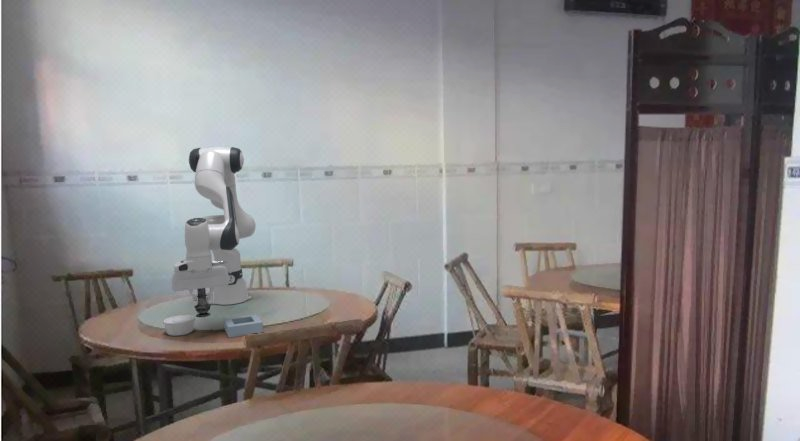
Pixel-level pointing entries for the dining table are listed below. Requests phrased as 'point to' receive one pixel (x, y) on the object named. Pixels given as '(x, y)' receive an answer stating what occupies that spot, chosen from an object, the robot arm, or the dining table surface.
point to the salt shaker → (202, 304)
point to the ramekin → (179, 325)
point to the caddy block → (243, 325)
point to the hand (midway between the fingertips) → (202, 299)
